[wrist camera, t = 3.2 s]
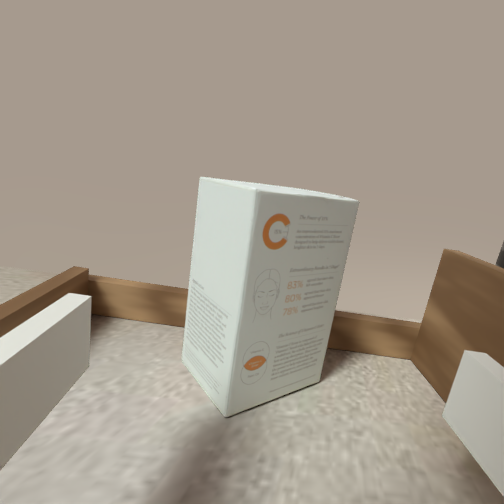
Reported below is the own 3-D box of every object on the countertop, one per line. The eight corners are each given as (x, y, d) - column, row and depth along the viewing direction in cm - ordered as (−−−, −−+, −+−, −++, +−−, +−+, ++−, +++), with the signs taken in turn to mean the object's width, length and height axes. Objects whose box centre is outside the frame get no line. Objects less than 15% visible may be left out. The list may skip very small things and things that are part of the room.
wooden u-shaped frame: (417, 354, 29) (449, 247, 27) (511, 461, 19) (580, 299, 16) (80, 305, 29) (83, 191, 26) (-27, 387, 18) (-39, 206, 15)
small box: (266, 339, 28) (294, 186, 25) (321, 383, 23) (364, 199, 20) (177, 360, 23) (197, 173, 20) (222, 422, 18) (258, 187, 15)
